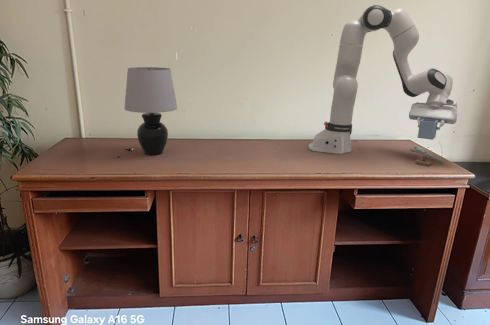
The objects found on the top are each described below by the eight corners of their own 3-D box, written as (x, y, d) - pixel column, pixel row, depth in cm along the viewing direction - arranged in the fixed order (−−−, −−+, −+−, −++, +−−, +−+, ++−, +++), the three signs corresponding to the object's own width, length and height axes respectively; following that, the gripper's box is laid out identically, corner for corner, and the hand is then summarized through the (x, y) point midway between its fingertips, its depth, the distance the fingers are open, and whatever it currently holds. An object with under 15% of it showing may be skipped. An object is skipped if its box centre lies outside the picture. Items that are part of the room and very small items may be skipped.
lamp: (125, 161, 159) (118, 69, 147) (130, 147, 182) (124, 66, 169) (179, 159, 164) (176, 70, 152) (177, 145, 187) (175, 67, 174)
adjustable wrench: (445, 164, 172) (446, 160, 171) (432, 164, 171) (433, 160, 171) (418, 149, 196) (419, 146, 195) (407, 149, 195) (407, 146, 195)
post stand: (428, 166, 165) (431, 154, 163) (415, 164, 169) (417, 151, 167) (431, 163, 170) (433, 151, 168) (417, 161, 173) (420, 149, 171)
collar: (432, 139, 161) (435, 122, 159) (417, 137, 165) (420, 120, 162) (435, 137, 166) (438, 120, 164) (420, 135, 170) (423, 118, 167)
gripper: (412, 98, 173) (404, 121, 168) (460, 102, 161) (453, 126, 157) (413, 106, 178) (405, 128, 173) (460, 110, 166) (452, 134, 161)
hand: (428, 127), depth 165 cm, fingers closed on collar, 6 cm apart
